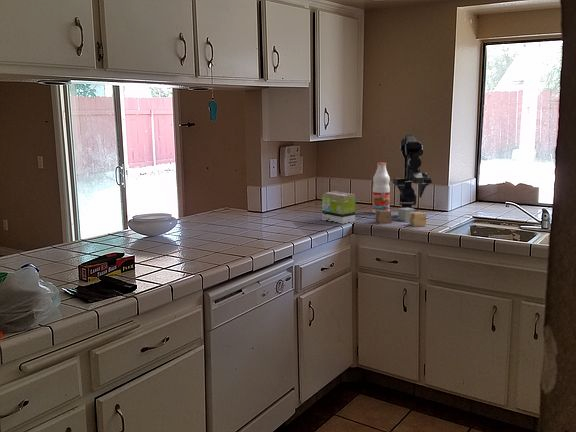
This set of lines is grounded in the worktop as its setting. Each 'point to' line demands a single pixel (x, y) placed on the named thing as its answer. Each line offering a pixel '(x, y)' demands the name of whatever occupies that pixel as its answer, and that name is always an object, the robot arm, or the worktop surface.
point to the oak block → (418, 218)
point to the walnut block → (383, 216)
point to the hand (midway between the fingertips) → (411, 198)
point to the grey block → (404, 213)
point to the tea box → (338, 207)
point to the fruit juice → (381, 189)
